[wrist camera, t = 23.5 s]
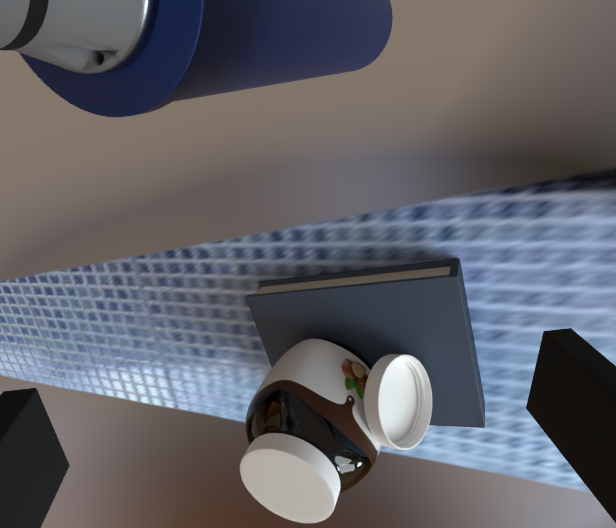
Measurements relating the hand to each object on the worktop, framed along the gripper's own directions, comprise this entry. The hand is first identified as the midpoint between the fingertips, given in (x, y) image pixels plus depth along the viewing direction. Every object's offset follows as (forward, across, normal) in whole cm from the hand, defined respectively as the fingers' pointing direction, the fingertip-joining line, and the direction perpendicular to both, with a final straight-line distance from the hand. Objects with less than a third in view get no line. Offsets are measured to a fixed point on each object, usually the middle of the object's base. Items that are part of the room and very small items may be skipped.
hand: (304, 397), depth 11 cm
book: (+22, +7, -15) cm, 28 cm away
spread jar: (+20, +6, -16) cm, 26 cm away
